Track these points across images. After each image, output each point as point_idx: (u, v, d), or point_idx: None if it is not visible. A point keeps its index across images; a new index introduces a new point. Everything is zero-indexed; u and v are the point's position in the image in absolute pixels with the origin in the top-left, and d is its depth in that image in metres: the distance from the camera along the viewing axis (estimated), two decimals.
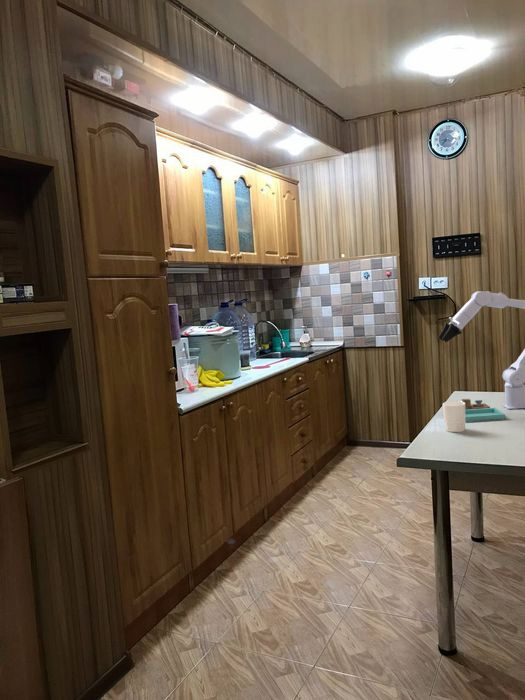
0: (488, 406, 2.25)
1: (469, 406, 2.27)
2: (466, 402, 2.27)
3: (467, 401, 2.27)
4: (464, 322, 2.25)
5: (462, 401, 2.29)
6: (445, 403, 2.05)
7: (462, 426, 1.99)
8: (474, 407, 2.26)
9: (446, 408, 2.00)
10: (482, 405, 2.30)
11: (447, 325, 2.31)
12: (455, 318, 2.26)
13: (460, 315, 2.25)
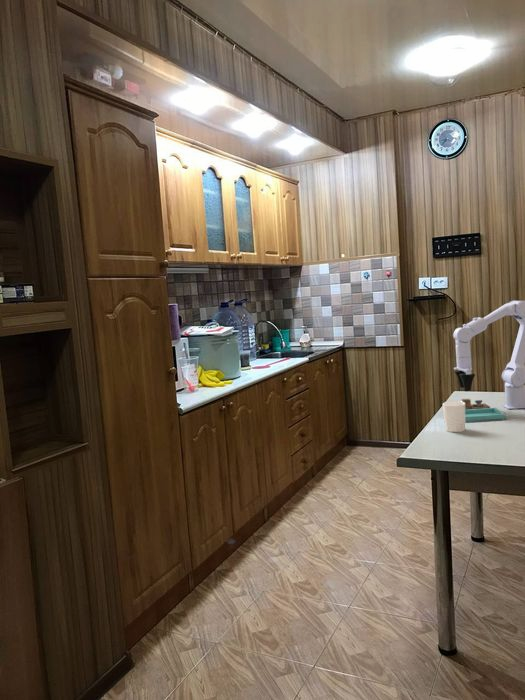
0: (488, 406, 2.25)
1: (469, 406, 2.27)
2: (466, 402, 2.27)
3: (467, 401, 2.27)
4: (468, 363, 2.24)
5: (462, 401, 2.29)
6: (445, 403, 2.05)
7: (462, 426, 1.99)
8: (474, 407, 2.26)
9: (446, 408, 2.00)
10: (482, 405, 2.30)
11: (458, 373, 2.31)
12: (459, 366, 2.26)
13: (460, 361, 2.25)
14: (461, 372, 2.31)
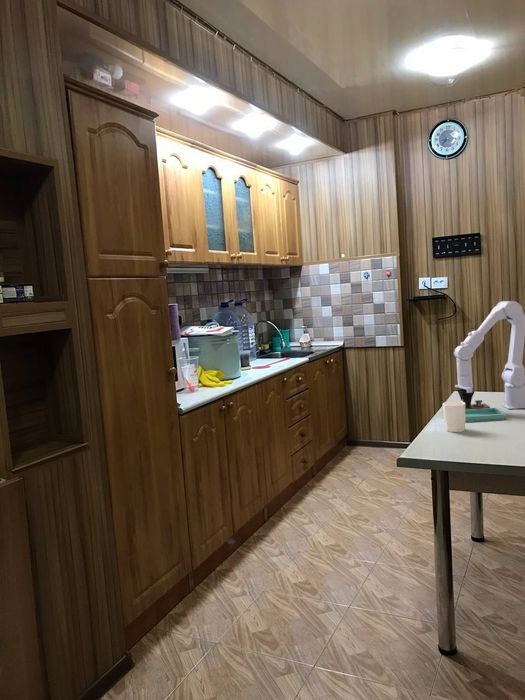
0: (488, 406, 2.25)
1: None
2: None
3: None
4: (469, 381, 2.25)
5: (462, 401, 2.29)
6: (445, 403, 2.05)
7: (462, 426, 1.99)
8: (474, 407, 2.26)
9: (446, 408, 2.00)
10: (482, 405, 2.30)
11: None
12: (460, 384, 2.26)
13: (461, 379, 2.26)
14: (463, 390, 2.30)
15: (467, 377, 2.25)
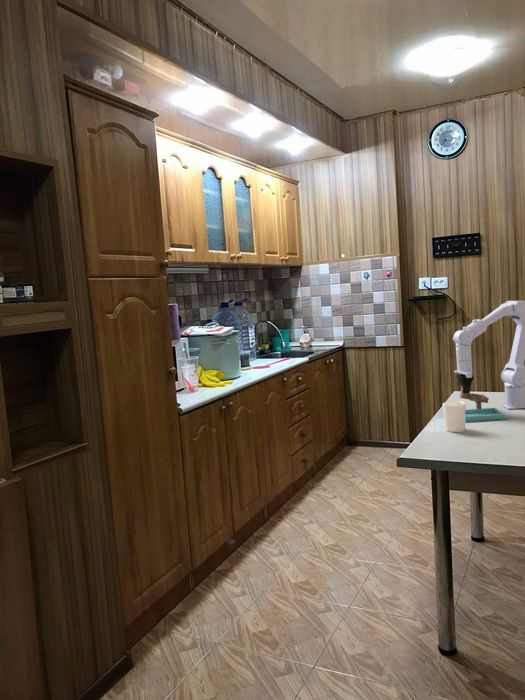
0: None
1: (468, 393, 2.25)
2: None
3: None
4: (469, 366, 2.22)
5: (462, 387, 2.26)
6: (445, 403, 2.05)
7: (462, 426, 1.99)
8: (472, 395, 2.23)
9: (446, 408, 2.00)
10: (480, 396, 2.28)
11: None
12: (459, 369, 2.24)
13: (461, 364, 2.23)
14: None
15: (466, 362, 2.22)
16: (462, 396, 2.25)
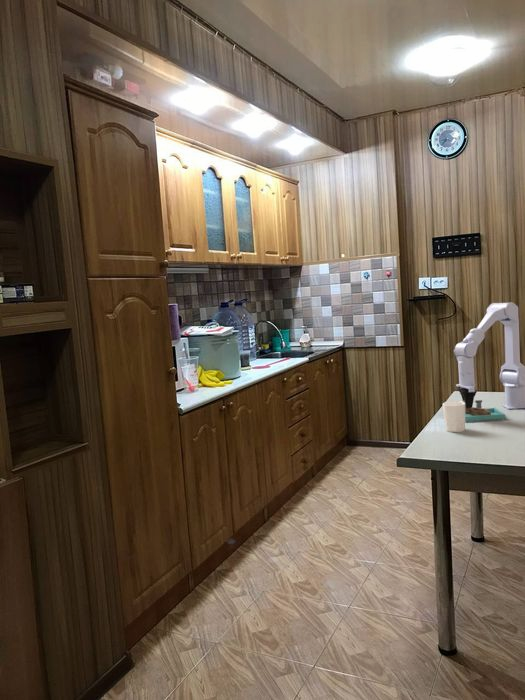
0: (489, 411, 2.14)
1: (469, 408, 2.16)
2: None
3: None
4: (471, 380, 2.14)
5: None
6: (445, 403, 2.05)
7: (462, 426, 1.99)
8: (474, 410, 2.15)
9: (446, 408, 2.00)
10: (482, 410, 2.19)
11: None
12: (461, 383, 2.15)
13: (463, 378, 2.14)
14: (465, 390, 2.18)
15: (469, 376, 2.13)
16: None
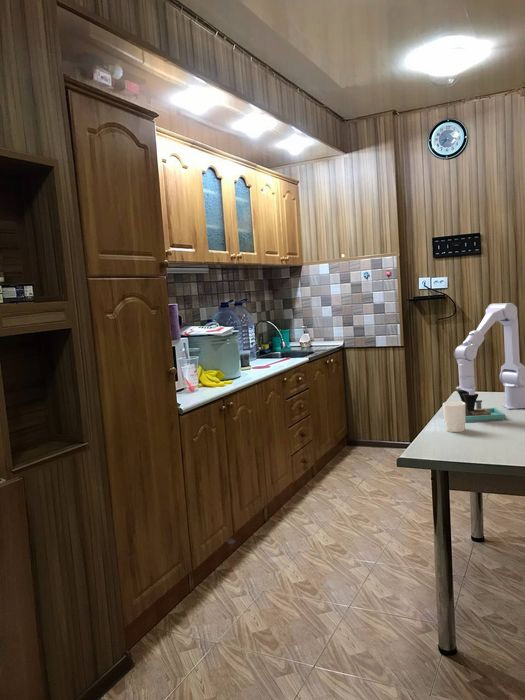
0: (489, 411, 2.14)
1: None
2: (466, 407, 2.16)
3: None
4: (472, 383, 2.14)
5: None
6: (445, 403, 2.05)
7: (462, 426, 1.99)
8: (474, 413, 2.15)
9: (447, 408, 2.00)
10: (482, 410, 2.19)
11: (461, 392, 2.20)
12: (462, 385, 2.15)
13: (463, 380, 2.14)
14: (464, 392, 2.20)
15: (469, 378, 2.13)
16: None
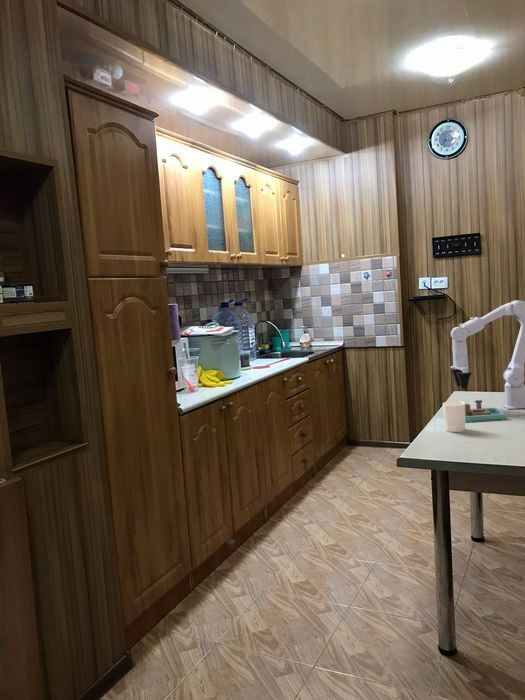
0: (489, 411, 2.14)
1: (469, 411, 2.16)
2: (466, 407, 2.16)
3: (467, 406, 2.16)
4: (465, 362, 2.29)
5: None
6: (445, 403, 2.05)
7: (462, 426, 1.99)
8: (474, 413, 2.15)
9: (446, 408, 2.00)
10: (482, 410, 2.19)
11: (454, 371, 2.35)
12: (456, 365, 2.30)
13: (457, 360, 2.29)
14: (457, 371, 2.35)
15: (463, 358, 2.28)
16: None
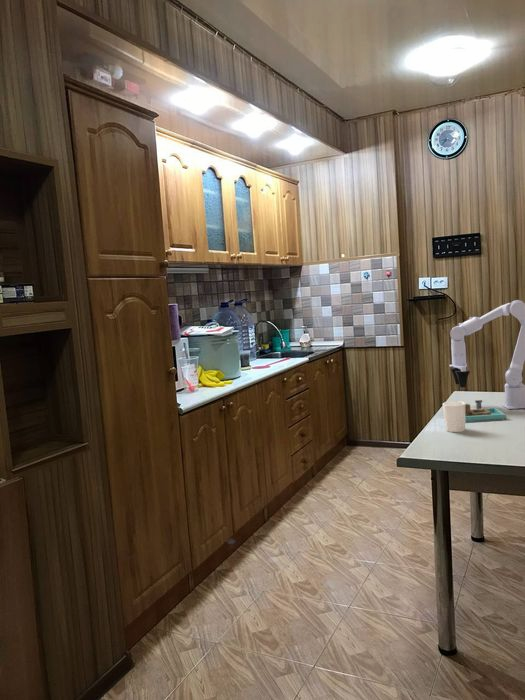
0: (489, 411, 2.14)
1: (469, 411, 2.16)
2: (466, 407, 2.16)
3: (467, 406, 2.16)
4: (463, 360, 2.32)
5: None
6: (445, 403, 2.05)
7: (462, 426, 1.99)
8: (474, 413, 2.15)
9: (446, 408, 2.00)
10: (482, 410, 2.19)
11: (453, 370, 2.39)
12: (454, 363, 2.34)
13: (456, 358, 2.33)
14: (456, 369, 2.39)
15: (461, 356, 2.32)
16: None
